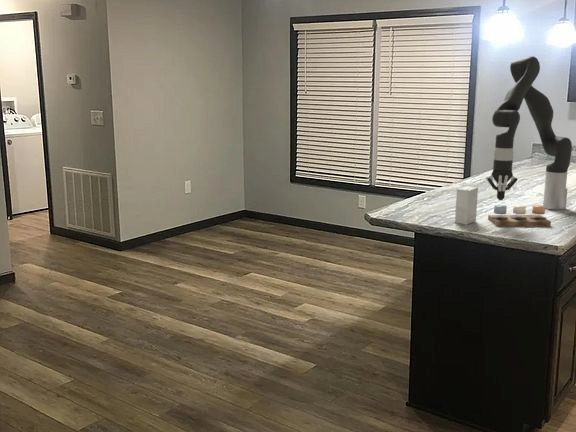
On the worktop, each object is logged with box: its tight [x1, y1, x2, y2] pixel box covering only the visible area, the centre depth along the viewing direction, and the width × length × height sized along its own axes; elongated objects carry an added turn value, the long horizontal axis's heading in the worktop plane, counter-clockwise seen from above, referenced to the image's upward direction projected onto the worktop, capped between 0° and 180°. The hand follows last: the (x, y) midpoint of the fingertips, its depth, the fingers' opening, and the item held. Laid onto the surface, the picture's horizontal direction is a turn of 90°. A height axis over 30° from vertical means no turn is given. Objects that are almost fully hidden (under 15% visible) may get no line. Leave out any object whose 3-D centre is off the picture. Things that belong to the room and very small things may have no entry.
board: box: [487, 214, 552, 227], centre depth 277 cm, size 22×13×2 cm, turn 88°
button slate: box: [493, 204, 508, 215], centre depth 276 cm, size 5×5×3 cm
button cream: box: [512, 204, 527, 215], centre depth 276 cm, size 5×5×3 cm
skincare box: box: [454, 185, 479, 225], centre depth 277 cm, size 8×6×15 cm
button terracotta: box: [531, 204, 546, 215], centre depth 275 cm, size 5×5×3 cm
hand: (500, 199), depth 275 cm, fingers closed
